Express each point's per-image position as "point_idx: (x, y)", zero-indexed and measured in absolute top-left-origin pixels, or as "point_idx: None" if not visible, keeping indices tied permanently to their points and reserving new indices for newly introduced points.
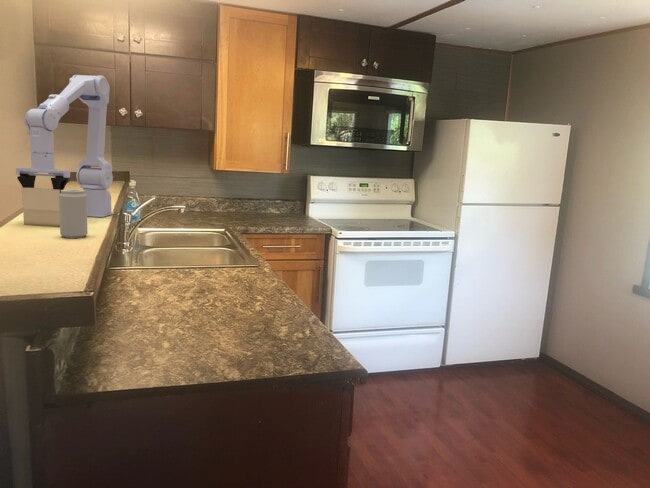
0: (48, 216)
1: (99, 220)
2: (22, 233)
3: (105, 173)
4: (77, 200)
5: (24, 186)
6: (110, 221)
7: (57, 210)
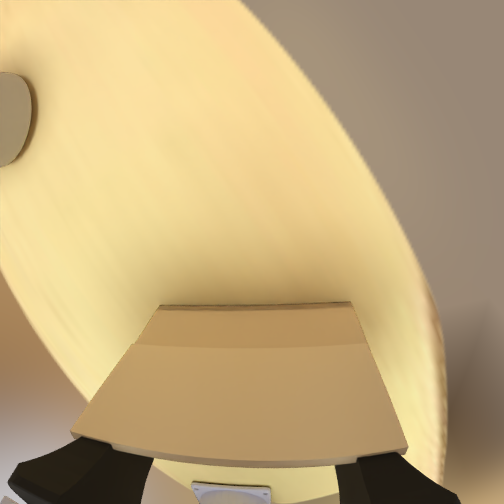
0: (214, 332)
1: None
2: (197, 63)
3: None
4: None
5: (381, 461)
6: None
7: (145, 346)
